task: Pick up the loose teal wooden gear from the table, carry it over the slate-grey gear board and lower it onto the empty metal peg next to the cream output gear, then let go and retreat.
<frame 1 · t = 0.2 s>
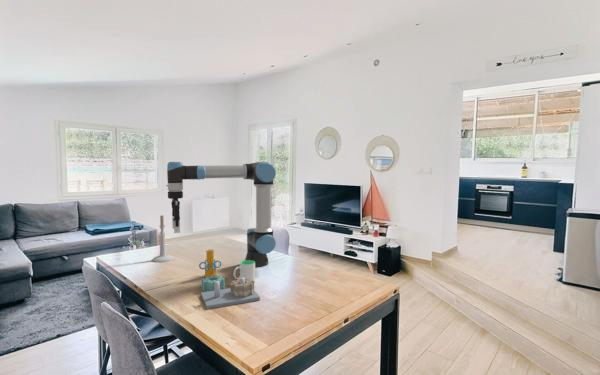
hand: (176, 230, 178), 28 cm above the table, fingers open, 13 cm apart
output gear: (242, 292, 159), resting on gear board
gear board: (230, 297, 156), on the table
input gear: (213, 288, 168), on the table
mug: (244, 282, 178), on the table
candlestick: (162, 259, 221), on the table
orange post with rings: (210, 276, 187), on the table
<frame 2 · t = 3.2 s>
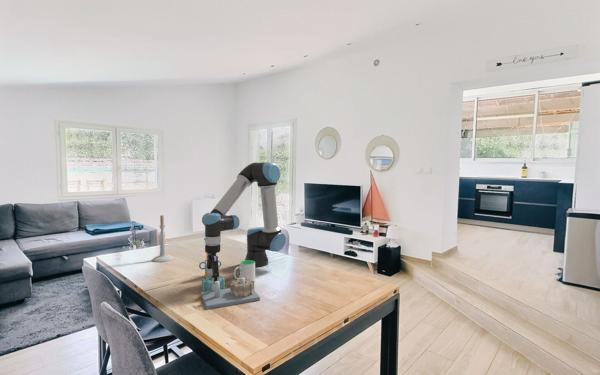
hand: (212, 285, 168), 1 cm above the table, fingers open, 13 cm apart
nothing on the table moved.
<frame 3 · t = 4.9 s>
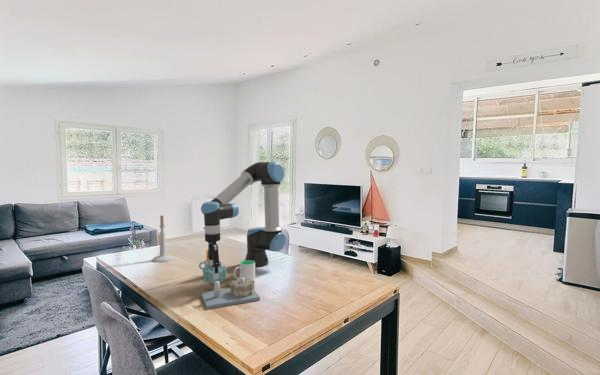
hand: (214, 275, 169), 7 cm above the table, fingers closed on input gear, 11 cm apart
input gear: (214, 278, 169), point 5 cm above the table, touching gripper
everything else where it was.
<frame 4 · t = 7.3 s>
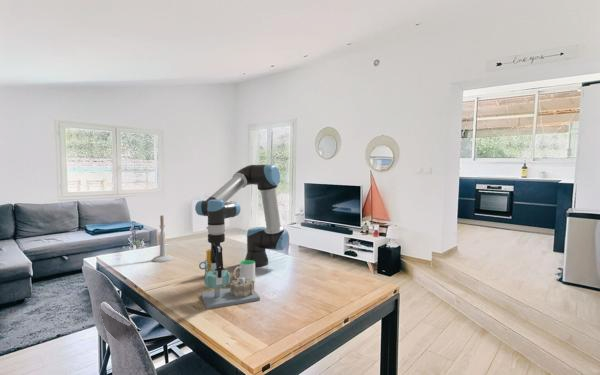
hand: (216, 280, 153), 9 cm above the table, fingers closed on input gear, 11 cm apart
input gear: (217, 283, 154), point 8 cm above the table, touching gripper
everything else where it was.
when the fingers open (4 cm above the table, at t = 9.8 s): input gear stays where it is, resting on gear board.
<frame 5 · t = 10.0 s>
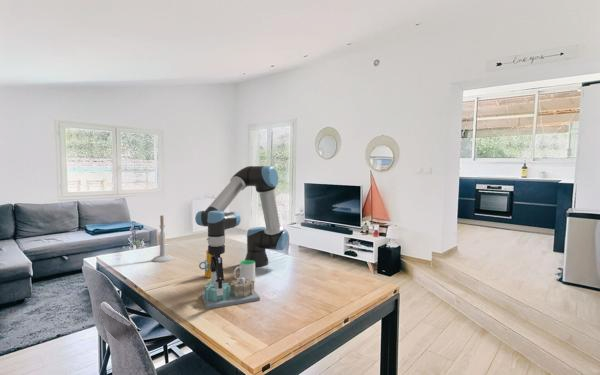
hand: (217, 290, 154), 5 cm above the table, fingers open, 13 cm apart
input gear: (217, 296, 154), point 1 cm above the table, touching gear board
everything else where it was.
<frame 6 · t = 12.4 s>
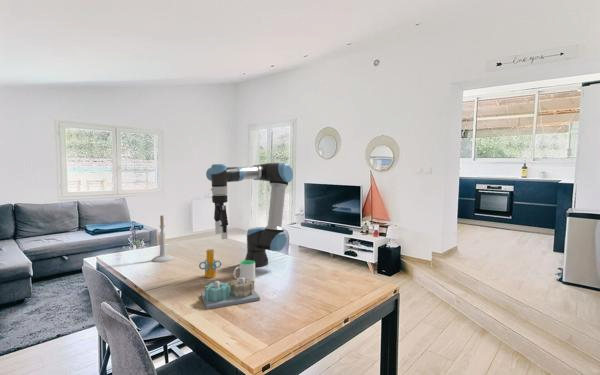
hand: (221, 236, 169), 26 cm above the table, fingers open, 13 cm apart
nothing on the table moved.
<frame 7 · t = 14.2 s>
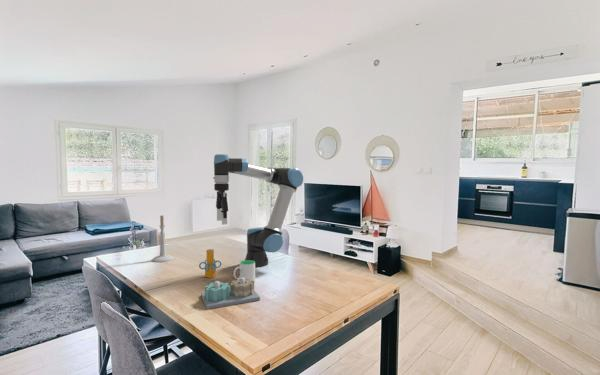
hand: (222, 222, 179), 32 cm above the table, fingers open, 13 cm apart
nothing on the table moved.
at the end: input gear 0.3 cm from the target spot, point 1.5 cm above the table; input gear tilted 0°; the gripper is holding nothing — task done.
